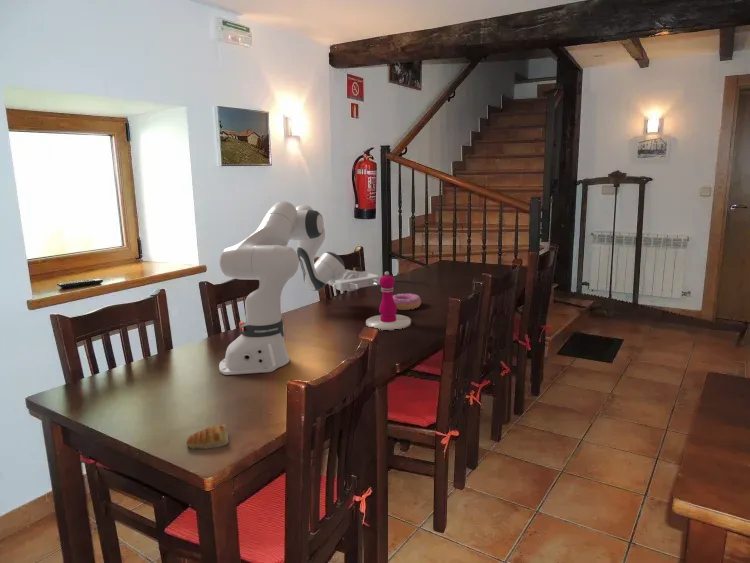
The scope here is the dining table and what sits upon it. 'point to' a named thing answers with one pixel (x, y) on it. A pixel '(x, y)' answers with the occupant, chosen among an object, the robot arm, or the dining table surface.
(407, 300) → the donut
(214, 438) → the pastry
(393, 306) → the pepper mill
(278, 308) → the robot arm
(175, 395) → the dining table surface
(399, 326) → the trivet
